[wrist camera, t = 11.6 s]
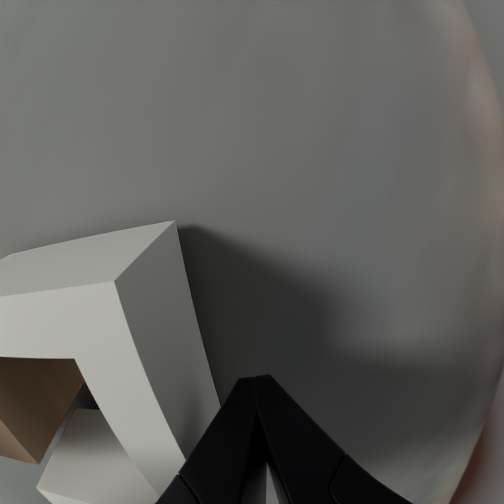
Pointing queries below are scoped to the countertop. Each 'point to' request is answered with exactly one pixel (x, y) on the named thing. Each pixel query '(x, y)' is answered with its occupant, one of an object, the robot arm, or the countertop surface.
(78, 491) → the cap
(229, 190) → the countertop surface
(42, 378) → the brown bar
